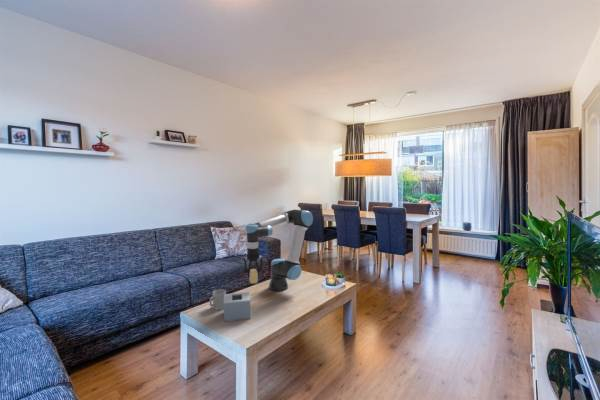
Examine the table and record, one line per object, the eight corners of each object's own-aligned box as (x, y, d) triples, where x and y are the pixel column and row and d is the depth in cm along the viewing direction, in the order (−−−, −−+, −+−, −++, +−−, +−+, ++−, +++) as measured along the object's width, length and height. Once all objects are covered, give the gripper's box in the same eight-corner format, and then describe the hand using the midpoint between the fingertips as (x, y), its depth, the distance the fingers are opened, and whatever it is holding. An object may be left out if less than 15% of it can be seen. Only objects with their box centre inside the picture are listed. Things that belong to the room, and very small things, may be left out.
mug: (220, 303, 205) (220, 288, 204) (228, 306, 200) (228, 291, 199) (205, 309, 195) (205, 293, 194) (214, 313, 190) (214, 296, 189)
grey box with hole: (249, 309, 195) (249, 292, 194) (250, 318, 182) (250, 299, 181) (224, 312, 191) (224, 294, 190) (223, 321, 179) (223, 302, 178)
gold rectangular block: (256, 280, 204) (256, 268, 203) (257, 283, 198) (256, 271, 197) (250, 280, 203) (250, 269, 202) (251, 283, 197) (250, 271, 197)
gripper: (264, 245, 204) (265, 278, 206) (239, 247, 200) (240, 280, 202) (266, 248, 197) (266, 282, 199) (240, 249, 193) (241, 284, 195)
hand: (253, 281), depth 201 cm, fingers closed on gold rectangular block, 4 cm apart
